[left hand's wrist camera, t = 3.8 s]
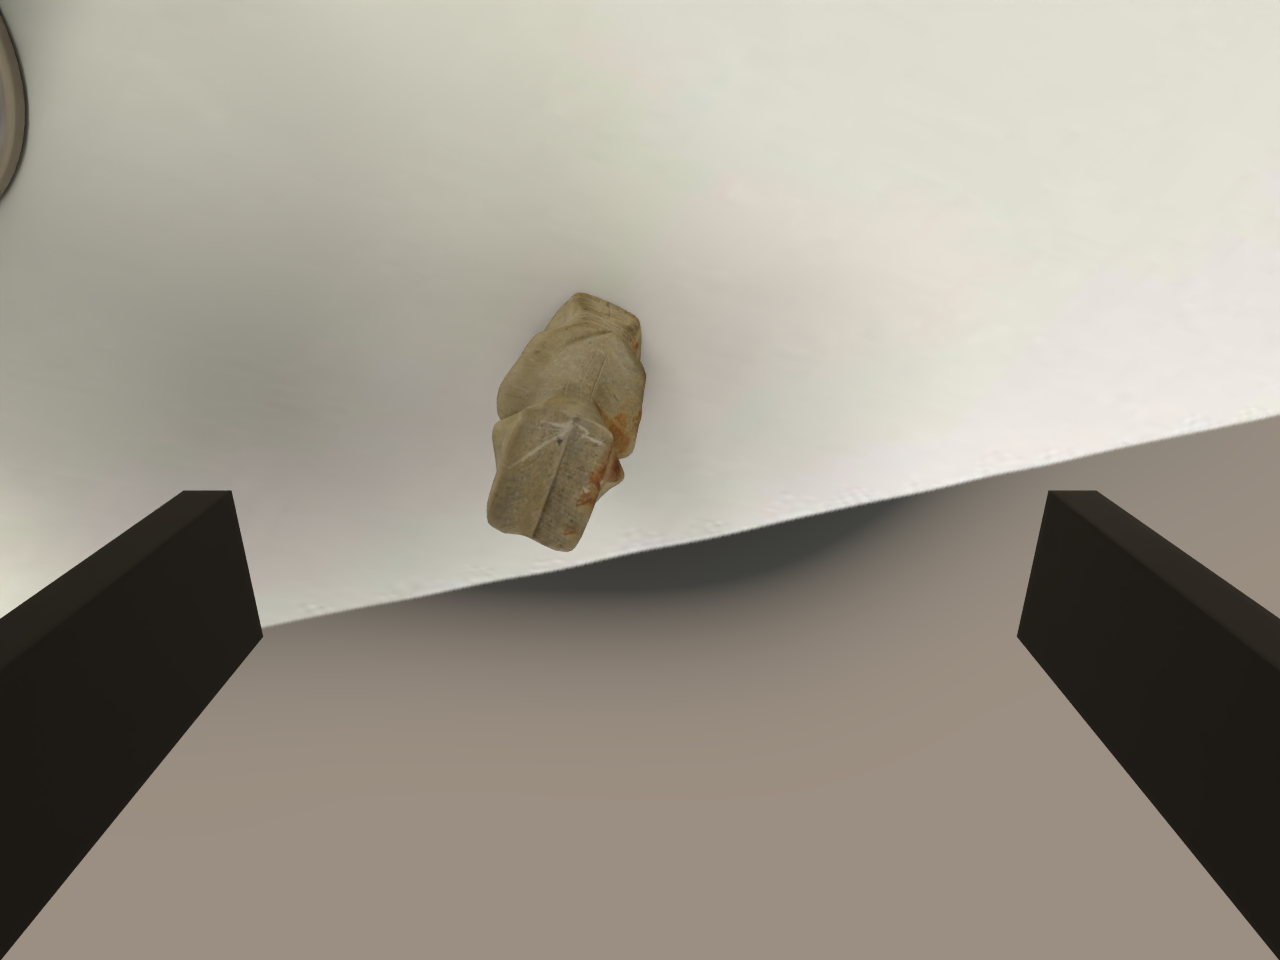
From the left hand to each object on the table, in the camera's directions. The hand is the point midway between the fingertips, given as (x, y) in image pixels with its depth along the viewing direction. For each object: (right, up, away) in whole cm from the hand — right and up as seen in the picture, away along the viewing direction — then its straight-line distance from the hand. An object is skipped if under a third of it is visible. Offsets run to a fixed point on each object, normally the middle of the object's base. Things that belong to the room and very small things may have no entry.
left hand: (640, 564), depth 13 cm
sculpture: (-3, +8, +26) cm, 28 cm away
